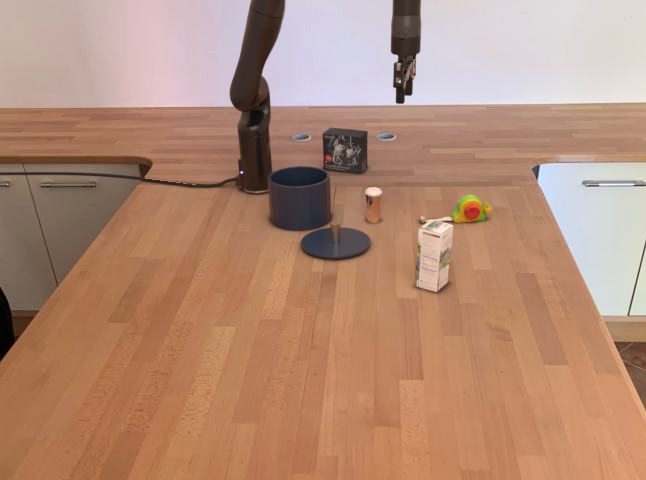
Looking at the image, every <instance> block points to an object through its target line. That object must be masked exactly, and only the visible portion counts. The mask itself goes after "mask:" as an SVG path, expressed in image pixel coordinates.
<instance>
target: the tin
mask: <svg viewBox="0 0 646 480" xmlns="http://www.w3.org/2000/svg"><path fill="white" fill-rule="evenodd" d="M267 180H268V192H267V193H268V202H269V203H268V204H269V215H270V216H269V217H270V222H271V224H272V225H273V226H275V227H277V228H278V229H282V230H287V231H298V232H299V231H310V230H315V229H319V228H321V227H324V226H326V225H327V224H329V222H331V220H332V200H331V174H330V172H329V171H328V170H324V168H321V167H318V166H317V167H316V166H309V165H294V166H287V167H282V168H278V169H276V170H274V171H273V172H272V173H271V174H270V175H268V179H267Z"/></svg>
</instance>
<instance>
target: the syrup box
mask: <svg viewBox="0 0 646 480" xmlns="http://www.w3.org/2000/svg"><path fill="white" fill-rule="evenodd" d="M417 231H418V232H417V244H416V245H417V249H416V262H415V263H416V264H415V280H414V281H415V282H414V286H415V287H417V288H420V289H424V290H427V291H429V292H430V291H431V292H434V293H438V292H439V291H440V290H441V289H442V288H444V287H445V286H446V285H447V284H448V283H449V281H450V270H451V268H450V267H451V260H452V259H451V257H452V247H453V234H454V225H453V224H450V223H448V222H445V221H437V220H430V221H429V222H425V223H423V225H421V226H420V227H418V230H417Z"/></svg>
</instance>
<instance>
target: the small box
mask: <svg viewBox="0 0 646 480" xmlns="http://www.w3.org/2000/svg"><path fill="white" fill-rule="evenodd" d="M368 133H369V131H368V130H360V129H351V128H341V127H328V129H326V130H325V131H323V132H322V155H323V156H322V157H323V161H322V162H323V169H324V170H326V171H333V172H341V173H342V172H343V173H350V174H359V175H360V174H363V173H364V171H366V169H368Z"/></svg>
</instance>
